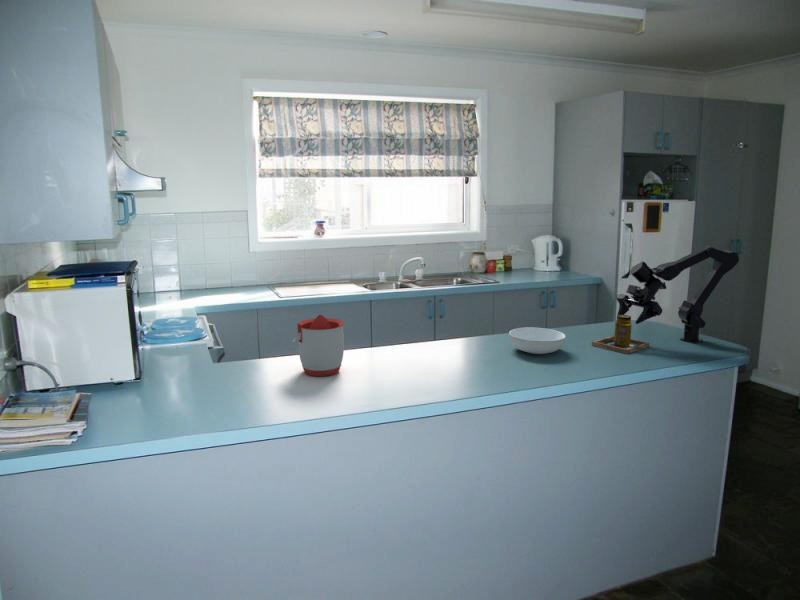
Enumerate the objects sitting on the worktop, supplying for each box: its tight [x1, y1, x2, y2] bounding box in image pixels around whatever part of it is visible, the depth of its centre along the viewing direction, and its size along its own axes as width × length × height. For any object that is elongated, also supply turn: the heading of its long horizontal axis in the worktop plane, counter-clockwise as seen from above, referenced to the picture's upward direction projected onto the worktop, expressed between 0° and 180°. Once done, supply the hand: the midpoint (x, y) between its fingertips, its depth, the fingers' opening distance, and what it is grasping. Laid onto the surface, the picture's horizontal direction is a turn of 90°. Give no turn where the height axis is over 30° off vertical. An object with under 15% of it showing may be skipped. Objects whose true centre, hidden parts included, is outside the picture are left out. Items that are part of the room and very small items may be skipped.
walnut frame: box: [591, 335, 650, 355], centre depth 238 cm, size 16×15×2 cm
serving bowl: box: [508, 326, 567, 355], centre depth 231 cm, size 21×21×7 cm
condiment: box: [608, 314, 635, 349], centre depth 237 cm, size 7×8×12 cm
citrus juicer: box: [292, 313, 345, 377], centre depth 205 cm, size 16×17×20 cm
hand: (626, 320), depth 238 cm, fingers open, 9 cm apart
